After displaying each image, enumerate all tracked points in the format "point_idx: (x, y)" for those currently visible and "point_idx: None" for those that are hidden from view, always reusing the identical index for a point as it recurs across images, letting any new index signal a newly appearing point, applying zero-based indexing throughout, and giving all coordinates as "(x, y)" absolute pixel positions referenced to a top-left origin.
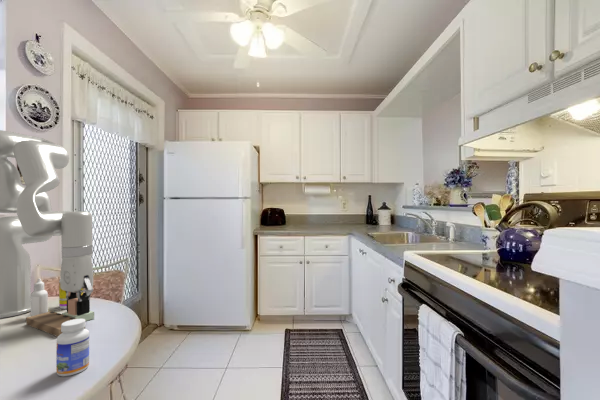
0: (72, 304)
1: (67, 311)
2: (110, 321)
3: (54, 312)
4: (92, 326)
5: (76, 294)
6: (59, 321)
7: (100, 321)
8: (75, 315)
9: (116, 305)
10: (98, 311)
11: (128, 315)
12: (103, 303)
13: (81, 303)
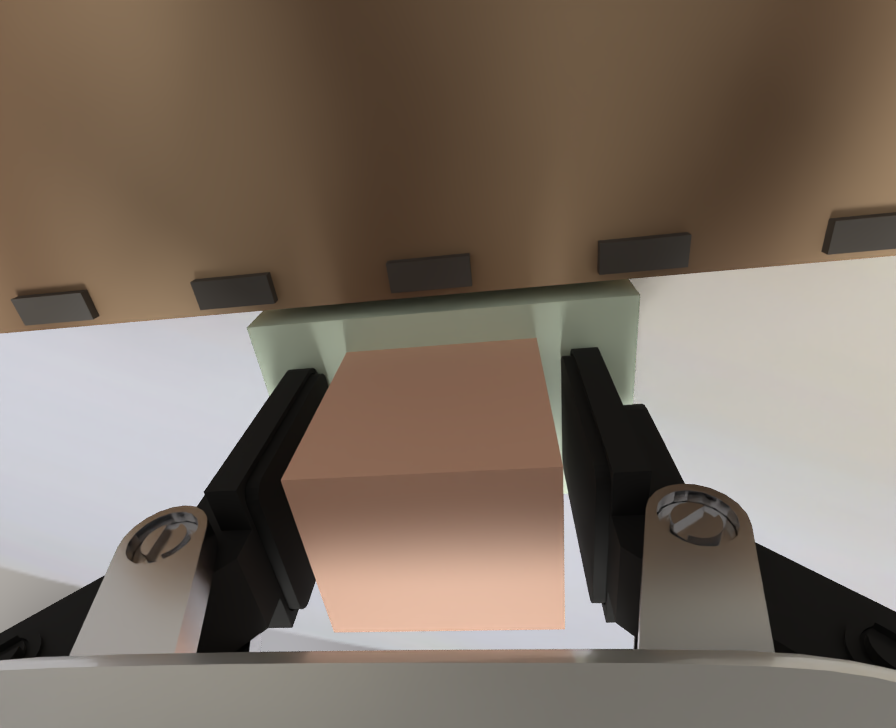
0: (380, 434)
1: (573, 351)
2: (125, 486)
3: (824, 248)
4: (86, 362)
5: (634, 646)
6: (232, 141)
7: (195, 449)
8: (339, 356)
9: None
10: None
11: None
12: None
13: (209, 506)
